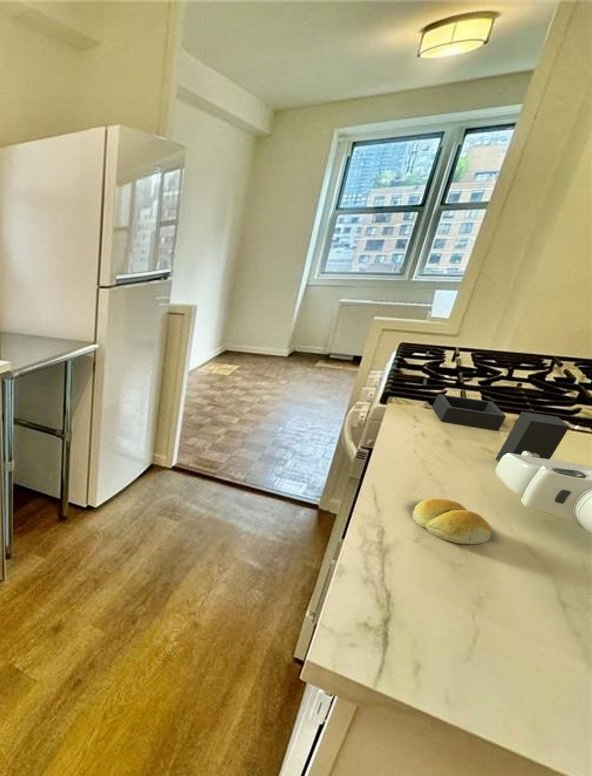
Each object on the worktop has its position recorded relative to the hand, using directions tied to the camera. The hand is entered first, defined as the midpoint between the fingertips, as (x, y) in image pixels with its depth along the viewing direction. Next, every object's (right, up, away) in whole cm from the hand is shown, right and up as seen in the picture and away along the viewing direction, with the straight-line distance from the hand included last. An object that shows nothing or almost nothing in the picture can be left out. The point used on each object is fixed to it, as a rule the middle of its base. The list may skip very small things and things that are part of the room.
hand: (564, 461), depth 80 cm
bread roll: (-25, -10, -6) cm, 28 cm away
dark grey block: (+5, -1, +12) cm, 13 cm away
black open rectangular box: (+15, +9, +32) cm, 36 cm away
